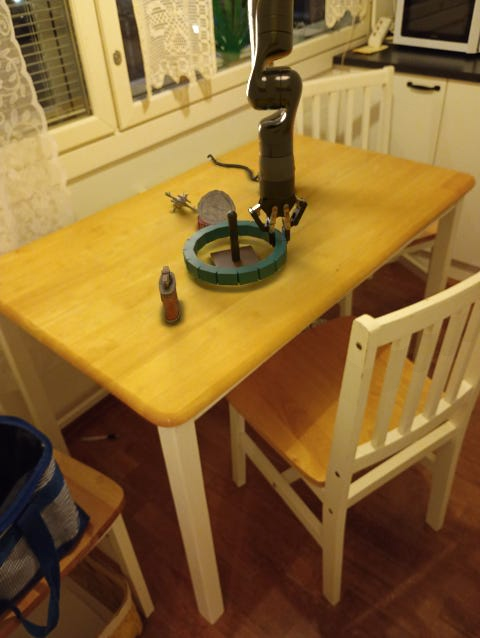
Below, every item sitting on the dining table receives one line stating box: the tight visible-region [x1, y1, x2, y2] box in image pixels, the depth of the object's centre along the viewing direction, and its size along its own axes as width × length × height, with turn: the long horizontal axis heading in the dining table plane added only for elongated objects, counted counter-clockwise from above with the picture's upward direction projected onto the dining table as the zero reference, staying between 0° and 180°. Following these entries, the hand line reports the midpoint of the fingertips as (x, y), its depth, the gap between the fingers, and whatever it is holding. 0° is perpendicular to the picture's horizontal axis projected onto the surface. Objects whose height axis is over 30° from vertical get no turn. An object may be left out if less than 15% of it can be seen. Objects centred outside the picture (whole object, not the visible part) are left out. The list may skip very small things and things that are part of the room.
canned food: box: [196, 189, 237, 231], centre depth 135 cm, size 11×10×10 cm
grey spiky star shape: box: [165, 190, 197, 213], centre depth 144 cm, size 10×6×9 cm
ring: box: [182, 219, 288, 287], centre depth 119 cm, size 23×23×3 cm
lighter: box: [158, 265, 182, 325], centre depth 105 cm, size 8×3×10 cm, turn 5°
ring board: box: [209, 210, 261, 268], centre depth 117 cm, size 10×10×14 cm
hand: (278, 243), depth 121 cm, fingers closed on ring, 2 cm apart
